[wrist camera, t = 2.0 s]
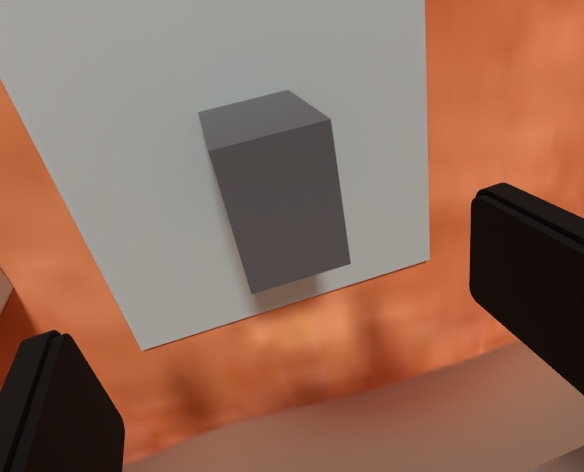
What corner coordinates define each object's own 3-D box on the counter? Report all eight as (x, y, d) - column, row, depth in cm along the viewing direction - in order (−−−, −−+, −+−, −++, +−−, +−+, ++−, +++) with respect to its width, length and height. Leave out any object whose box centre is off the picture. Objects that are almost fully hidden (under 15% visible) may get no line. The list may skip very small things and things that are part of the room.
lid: (408, -97, 15) (532, -151, 10) (419, 250, 23) (493, 320, 17) (-32, -8, 13) (-161, -19, 8) (143, 336, 21) (133, 443, 16)
